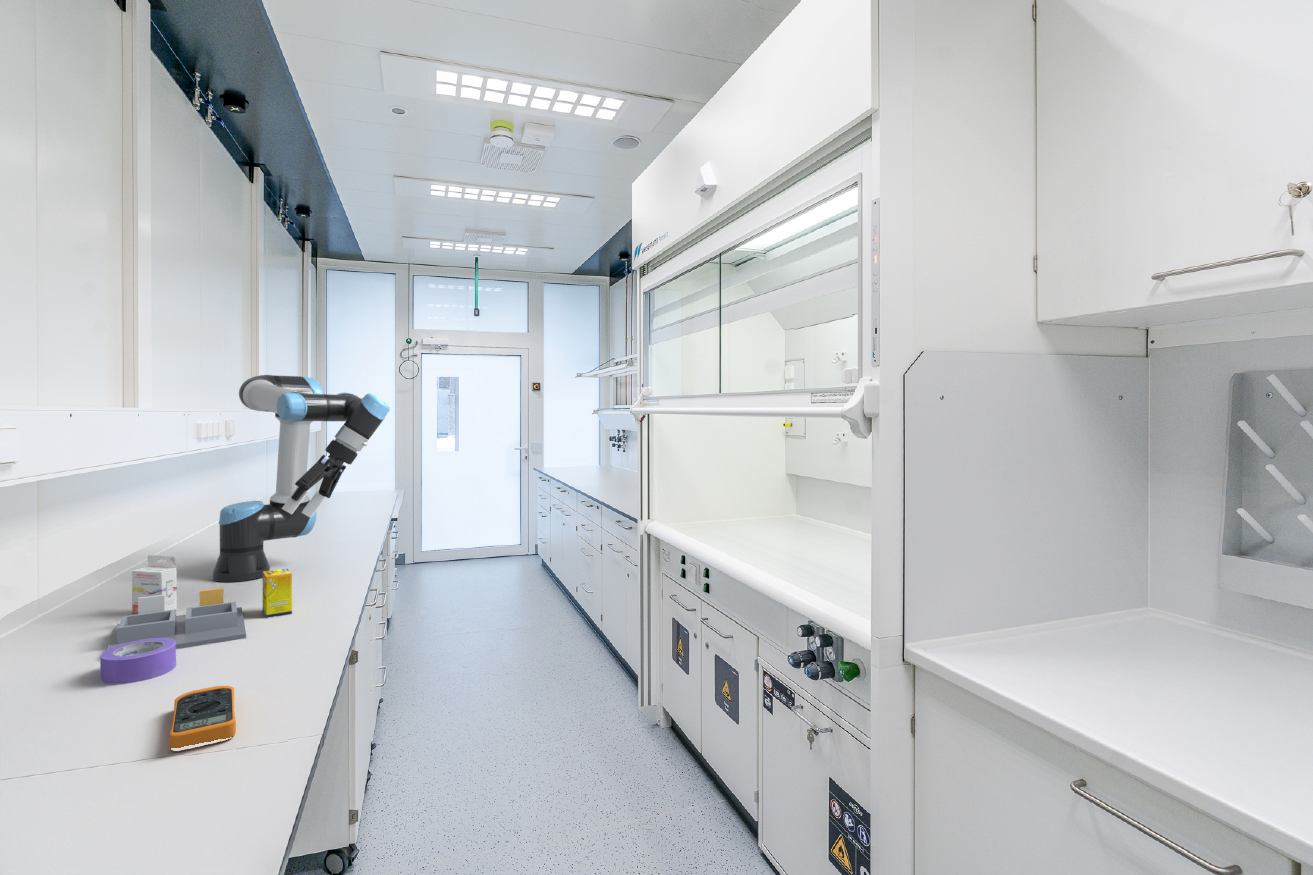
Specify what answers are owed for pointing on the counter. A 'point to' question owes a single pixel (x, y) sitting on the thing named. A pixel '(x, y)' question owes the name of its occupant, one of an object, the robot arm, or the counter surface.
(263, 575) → the supplement box
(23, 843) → the counter surface
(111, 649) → the tape roll
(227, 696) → the multimeter
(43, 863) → the counter surface
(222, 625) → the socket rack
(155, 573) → the ink cartridge box
